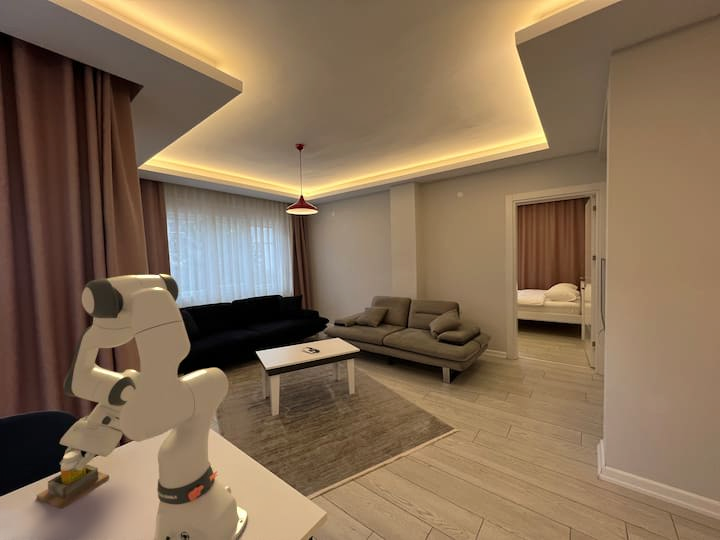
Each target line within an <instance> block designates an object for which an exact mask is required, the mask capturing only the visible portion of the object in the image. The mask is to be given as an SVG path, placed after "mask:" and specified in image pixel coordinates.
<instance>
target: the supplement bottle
mask: <svg viewBox="0 0 720 540" xmlns="http://www.w3.org/2000/svg"><path fill="white" fill-rule="evenodd" d="M84 458H85V456H83V455H82V450H79V449H77V450H75V451H72V452H69V453H67V454H66V455H65V454H64V456H63V457H62V459H63V462H64V463H63V464H62V465H60V475H61V478H62V484H63V485H66V486H67V485H69V484H71V483H72V482H74V481H76V480H78V479H79V478H81V477H83V476H84V475H86V468H85V466H84V468H83V469H82V470H81V471H79V470H76V469H74V467H75V466H76V464H77V462H80V461H81V460H82V459H84Z"/></svg>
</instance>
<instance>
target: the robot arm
mask: <svg viewBox="0 0 720 540" xmlns="http://www.w3.org/2000/svg"><path fill="white" fill-rule="evenodd" d="M81 293H82V294H81V304H82V306H83V308H84V310H85V312H86V313H87V315H88V316H90V317H93V318H92V319H93V321H92V325H91V326H89V327H87V328H85V329H84V330H83V331H82V333H81V334H80V337H79V339H78V341H77V343H76V347H75V352H74V355H73V359H72V362H71V365H70V369H69V371H68V373H67V375H66V377H65V379H64V380H63V390H64V393H65V395H67V396H68V397H73V398H79V399H83V400H87V401H90V402H91V401H92V402H94V403H98V404H96V406H95V407H94V409H92V411H91V412H90V414H89V415H85V416H84V417H82V418H80V419H79V420H77V421H76V422H75V423H73V425H72V426H70V428H69V429H68V430H67V431H66V432H65V433H64V435H63V436H62V437H61V439H60V440H59V444H60V445H62V446H66V447H67V448H66V449H65V452H64V455H66V454H67V453H69V452H72V451H75V450H80V451H81V452H82V451H83V452H86V453H85V454H84V459H82V460H81V461H80V462H77V464H76V466H75V467H74V469H76V470H79V471H81V470H82V469H83V468H84V466H85V465H86V464H87V465H88V464H89V462H91V461H92V460H93V459H94V458H95V456H99V457H104V458H107V457H108V456H109V455H111V454H112V453H113V451H114V450H115V448H117V446H118V444H119V442H120V440H121V439H122V437H123V435H124V437H126V438H127V439H129V440H131V441H134V442H137V443H140V442H143V441H146V440H149V439H152V438H153V439H154V438H155V437H159V436H162V435H163V434H165V433H167V432H169V431H170V433H169V434H168V435H167V436H166V437H165V439H164V440H163V441H162V443H161V445H160V447H159V450H158V453H157V461H158V462H157V464H158V476H159V478H158V480H157V488H156V489H157V490H156V492H157V495H158V499H159V505H158V507H157V508H158V509H157V514H156V518H155V534H154V540H237V539H238V537H239V536H240V535H241V533H242V531H243V530H244V528H245V526H246V524H247V521H248V516H249V515H248V512H247V511H246V510H244V509H242V508H241V507H239V506H238V505H237V500H236V499H235V496H234V495H232V490H231V487H230V486H228V485H227V486H223V485H222V483H220V482H219V481H218V479H216V477H217V476H218V474H217V473H218V471H214V469H213V467H212V465H211V463H210V461H209V435H210V430H211V426H212V423H213V420H214V418H215V416H216V415H215V414H216V413H217V410H218V409H219V407H220V405H221V403H222V402H223V401H224V399H225V397H226V396H227V394H228V391H229V380H228V379H229V378H228V377H227V374H226V373H225V372H224V371H223V370H222V369H220V368H218V367H209V368H202V369H198V370H195V371H192V372H189V373H187V374H185V375H183V376H180V377H178V370H179V367H180V363H182V361H183V360H184V359H186V357H188V355H189V353H190V351H191V342H190V339H189V336H188V333H187V330H186V326H185V322H184V320H183V315H182V314H181V311H180V308H179V307H178V304H177V300H178V297H179V294H180V293H179V285H178V283H177V281H176V280H175V279H174V277H172V276H171V275H169V274H163V273H155V274H136V275H135V274H128V275H120V276H119V275H118V276H113V277H109V278H104V277H102V278H99V279H98V278H97V279H94V280H90V281H89V282H87V283H86V284H85V285H84V286H83V289H82V292H81ZM133 339H135V343H136V346H137V350H138V356H139V357H138V358H139V360H140V361H139V363H140V371H138V370H135V369H126V370H124V371H123V372H116V371H112V370H109V369H106V368H103V367H100V366H99V365H97V364H96V358H97V356H98V353H99V349H110V348H111V349H112V348H116V347H120V346H122V345H125V344H127V343H128V342H130V341H132V340H133ZM63 463H64V462H63V458H62V459H61V461H59V465H60V466H61V465H62V464H63Z"/></svg>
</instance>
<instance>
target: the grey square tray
mask: <svg viewBox="0 0 720 540" xmlns="http://www.w3.org/2000/svg"><path fill="white" fill-rule="evenodd" d="M85 468H86V475H84V476H83V477H81V478H79V479H78V480H76V481H74V482H72V483H71V484H69V485H67V486H66V485H63V484H62V478H61V474H58V475H57V476H55V477H53V478H51V479H50V480H48V481H47V489H45V490H43V491H42V492H39V493H38V494H36V499H37V500H39V501H42V502H45V503H47V504H49V505H52V506H54V507H58V508H60V509H64V508H65V507H67V506H68V505H70V504H72V503H73V502H75V501H76V500H78V499H79V498H81V497H82V496H84V495H86V494H88V492H90V491H92V490H93V489H95V488H97V487H98V486H100V485H101V484H103V483H104V482H106V481H107V480H109V479H110V474H106V473H103V472H101V471H99V470H98V467H97V466H93V465H89V464H88V463H87V464H86V465H85ZM102 482H103V483H102Z"/></svg>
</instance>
